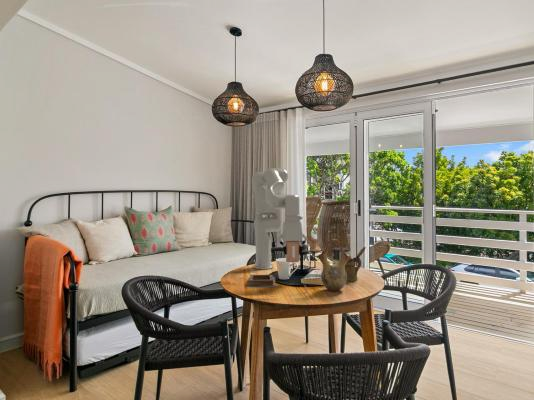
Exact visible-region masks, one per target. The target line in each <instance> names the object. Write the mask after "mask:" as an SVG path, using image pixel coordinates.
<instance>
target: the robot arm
mask: <svg viewBox="0 0 534 400" xmlns="http://www.w3.org/2000/svg"><path fill="white" fill-rule="evenodd" d="M288 179H289V174H288V172H287V170H286V169H285V168H279V167H278V168H277V167H273V168H272V167H271V168H267V169H265V170H264V171H260V172H258V171H257V172H254V173H253V174H252V177H251V186H252V188H253V191H254V201H255V202H254V203H255V204H254V205H255V213H256V214H257V215H259V216H263V217H257V218H256V219H254V221H253V228H254V233H255V264H253V268H254V270H255V269H256V270H270V269H273V268H274V264H272V248H271V247H272V241H271V237H270V236H269V234H268V233H277V232H280V231H282V234H280V235H279V236H278V237H276V241H277V242H278V243H279V244H280V245H281V246H282V247H283V248H282V251H283V254H284V255H285V256H286V243H287V242H297V241H298V242H299V255H302V253H303V246H304V245H305V244H306V243H307V241H308V240H309V238H308V237H307V236H306V235H305V234H304V233H303V227H302V222H301V220H303V216H300V215H301V213H300V210H301V209H300V196H299V195H298V194H279V193H281V192H282V190H283V189H284V187H285V183H287V181H288ZM265 186H266V187H267V186H268V188H267V189H266V187H265ZM282 209H283V210H284V221H283V222H282V211H281V210H282ZM269 216H270V217H269ZM281 229H282V230H281ZM281 239H282V240H283V241H282V240H281Z"/></svg>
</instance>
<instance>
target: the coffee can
mask: <svg viewBox="0 0 534 400" xmlns="http://www.w3.org/2000/svg"><path fill="white" fill-rule="evenodd" d="M342 249H343V251H344V252H345V253H346V254H347V255H349V256H351V248H350V247H346V246H342ZM340 260H341V252H340V248H339V246H336V247H335V246H334V247H332V264H337V263H338V262H339V261H340Z"/></svg>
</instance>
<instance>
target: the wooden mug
mask: <svg viewBox="0 0 534 400" xmlns="http://www.w3.org/2000/svg"><path fill="white" fill-rule="evenodd" d="M365 251H366V246H363V247H362V248H361V249H360V250H359V252H358V253H357V255H356V256H355V257H353V258H352V257H351V258H350V259H349V260H348V261H347V262H346V264H345V271H346V275H347V280H346V283H348V282H349V283H352V282H353V283H354V282H357V281H358V272H359V270H360V268H361V267H362V260H361V258H360V257H361V256H362V254H364V252H365ZM356 264H357V266H356Z"/></svg>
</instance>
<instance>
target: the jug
mask: <svg viewBox="0 0 534 400" xmlns="http://www.w3.org/2000/svg"><path fill="white" fill-rule="evenodd" d="M299 245H300V244H299V242H298V241H297V242H287V243H286V255H285V261H286V262H287V263H298V262H300V254H299Z"/></svg>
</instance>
